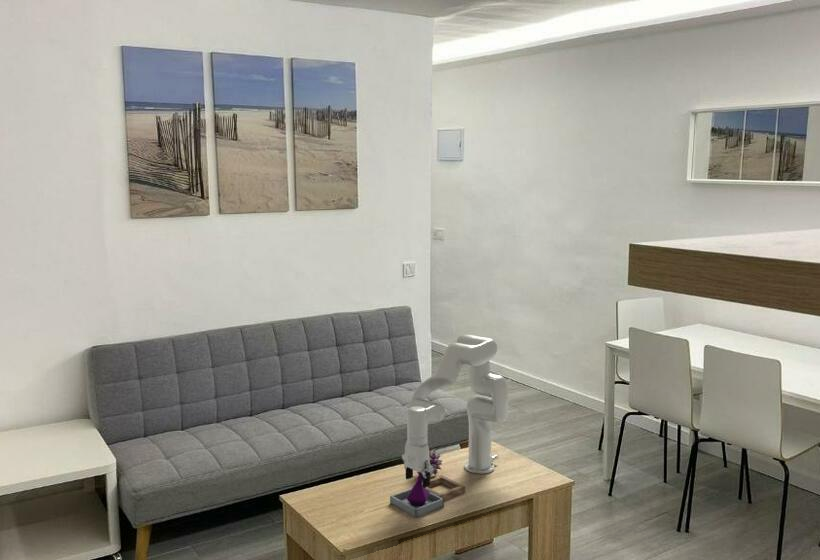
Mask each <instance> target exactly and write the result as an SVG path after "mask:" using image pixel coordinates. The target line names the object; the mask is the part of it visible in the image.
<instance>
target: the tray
mask: <svg viewBox="0 0 820 560" xmlns="http://www.w3.org/2000/svg"><path fill="white" fill-rule="evenodd" d="M412 488H413V487H411V488H409V489H406V490H404V491H400V492H398V493H395V494H393V495H390V497H389V503H390V505H392V506H394V507H396V508H398V509H399V510H401V511H403V512H404V513H407V514H408V515H410V516H412V517H414V518H420V517H422V516H424V515H426V514H429V513H431V512H433V511H436V510H438V509H439V510H440V509H441V508H444V507H445V500H444V499H443V498H441V497H439V496H437V495H435V494H433V493H431V492H430V493H429V496H428V498H427V500H426V502H425V503H424V505H423V506H413V505H411V504H410V502H409V501H408V500H407V497H408V495H409V493H410V491H411V489H412Z"/></svg>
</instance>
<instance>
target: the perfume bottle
mask: <svg viewBox="0 0 820 560" xmlns="http://www.w3.org/2000/svg"><path fill="white" fill-rule="evenodd" d="M424 469H425V468H424ZM416 473H417V474H418V476H417V479H416V482H415V484H414V485H413V486H412V487H411V488H412V489H411V488H410V489H411V491H410V493H409V495H408V497H407V500H408V501H409V502H410V504H411V505H413V506H423V505H424V503H425V502H426V500H427V498H428V496H429V493H430V492H429V491H428V490H427V489H426V488H423V485H422V482H423V474H422V472H417V471H416ZM425 474H427V472H426V471H425Z"/></svg>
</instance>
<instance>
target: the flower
mask: <svg viewBox="0 0 820 560" xmlns="http://www.w3.org/2000/svg"><path fill="white" fill-rule="evenodd" d="M429 456H430V464H431V465H432V466H433V468H434V471H433V474H434V476H436V475H437V474H438V470H442V467H441V465H443V460H440V458H441V455H440V453H439V452H438V453H436V448H433V449H432V450H431V451H430V450H429ZM433 474H432V475H433ZM432 475H431V476H430V478H431V477H432Z"/></svg>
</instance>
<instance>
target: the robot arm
mask: <svg viewBox="0 0 820 560" xmlns="http://www.w3.org/2000/svg"><path fill="white" fill-rule="evenodd" d="M497 352H498V345H497V342H496V341H495V340H494V339H493V338H489V337H483V336H479V335H473V334H460V335H458V337H457V339H456V342H452V343H450V344H448V346H447V347H446V349H445V351H444V353H443V355H442V357H441V359H440V361H439V364H438V366H437V368H436V371H435V373H433V375H431V376H430V377H428V378H427V379H425V380H423V382H421V384H420V385H418V386H417V387H416V389H415V391H414V393H413V394H412V397H411V399H410V402H409V404H408V408H407V412H406V413H407V414H406V415H407V416H406V417H407V421H406V422H407V425H406V427H407V428H406V429H407V431H406V432H407V434H406V435H407V440H406V441H405V446H404V454H402V455H401V458H402V463H403V466H404V469H405V480H410V479H412V478H414V471H415V472H416V473H417V472H422V474H423V480H422V482H423V488H426V487H428V486H430V479H431V477H432V475H433V471H434V468H433V466H432V465H431V464H430V456H429V451H430V448H429V444H428V425H432V424H438V423H440V422H441V421H442V420H443V419H444V418H445V416H446V410H445V407H444V405H442V404H440V403H438V402H434V401H431V400H427V398H428V396H429V395H431V394H432V393H433V392H435V391H437V390H441V389H445V388H449V387H452V386H453V385H454V384H455V383H456V381H457V378H458V376H459V373H460V372H461V369H462V368H463V367H468V369H469V388H470V390H471V392H472V393H474V394H477V395H472V396H471V397H470V398H469V399H467V404H466V412H467V419H468V457H467V458H468V460H467V461H466V462H465V463H464V469H465V470H466V471H468V472H470V473H472V474H483V475H484V474H489V473H491V472H494V470H495V464H494V463H493V462H494V461H496V460H499V455H497V454H495V455H492V426H491V423H494V424H503V423H504V422H505V420H506V419H507V417H508V410H509V398H508V397H509V396H508V395H509V392H508V391H509V390H508V382H507V380H506V378H505V377H504V376H503V375H499V374H494V373H492V372H491V366H490V365H491V364H490V363H491V362H490V361H491V360H492V359H494V357H495V356H496V354H497ZM490 422H491V423H490ZM424 468H425V469H424ZM425 471H426V472H427V474H425ZM430 476H431V477H430Z"/></svg>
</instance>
